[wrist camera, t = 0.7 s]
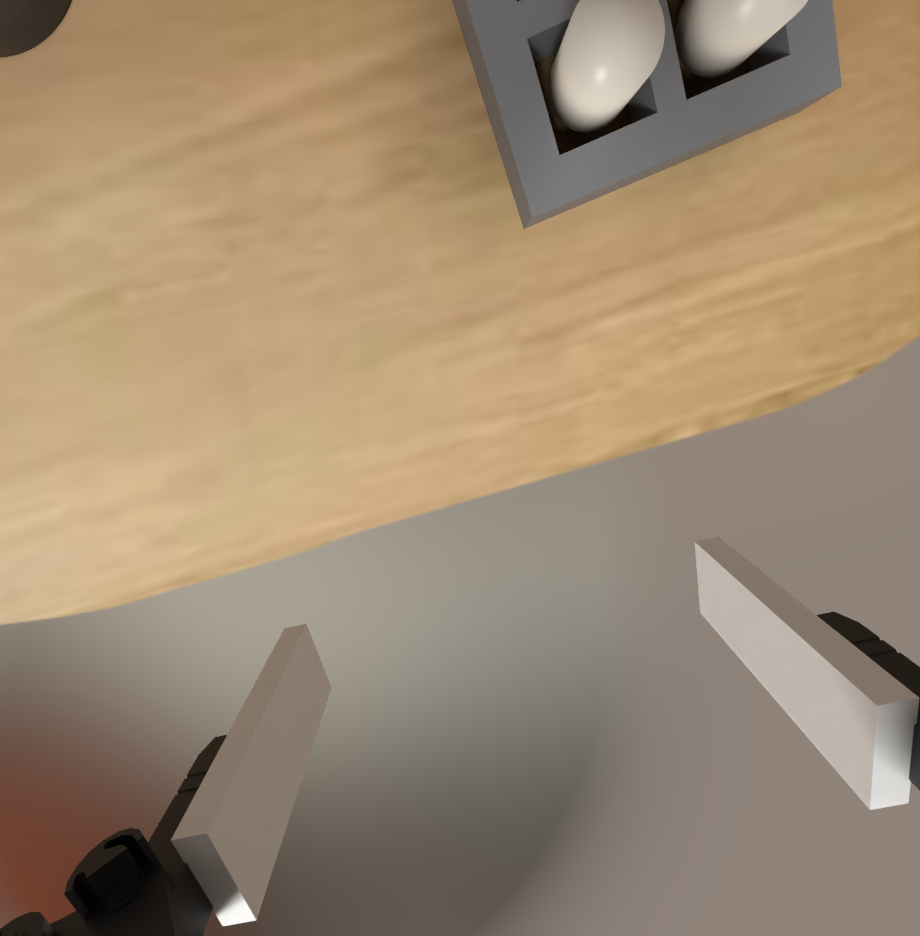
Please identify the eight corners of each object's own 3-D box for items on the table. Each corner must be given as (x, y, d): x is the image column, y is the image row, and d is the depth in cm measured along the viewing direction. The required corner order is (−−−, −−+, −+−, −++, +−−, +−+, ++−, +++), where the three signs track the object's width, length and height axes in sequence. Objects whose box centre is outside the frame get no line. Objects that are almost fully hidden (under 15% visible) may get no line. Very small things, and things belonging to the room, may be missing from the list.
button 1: (537, 56, 31) (555, 2, 26) (617, 19, 30) (651, -44, 25) (562, 146, 33) (583, 112, 27) (638, 113, 32) (674, 71, 27)
